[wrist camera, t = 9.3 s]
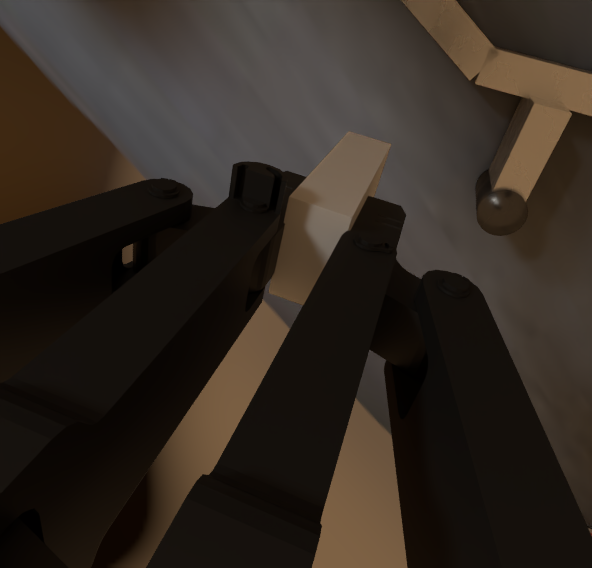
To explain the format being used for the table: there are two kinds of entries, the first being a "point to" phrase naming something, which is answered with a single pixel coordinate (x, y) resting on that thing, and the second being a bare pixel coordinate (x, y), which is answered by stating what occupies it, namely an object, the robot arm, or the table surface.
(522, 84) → the indicator ring
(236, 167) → the robot arm
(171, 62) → the table surface
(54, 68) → the table surface
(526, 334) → the table surface
